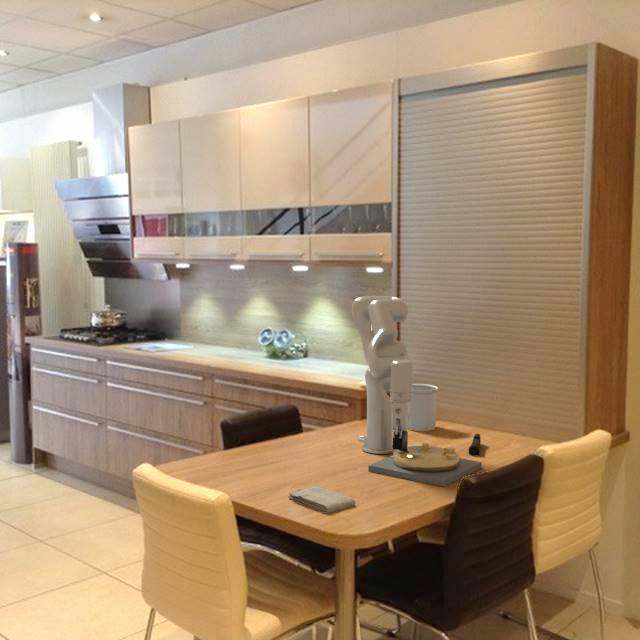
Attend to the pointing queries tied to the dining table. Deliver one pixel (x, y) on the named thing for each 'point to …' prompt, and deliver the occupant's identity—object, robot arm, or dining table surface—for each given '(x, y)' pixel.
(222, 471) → the dining table surface
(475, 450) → the hand tool
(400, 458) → the beige piece
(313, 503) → the washcloth
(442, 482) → the base plate
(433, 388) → the utensil holder
